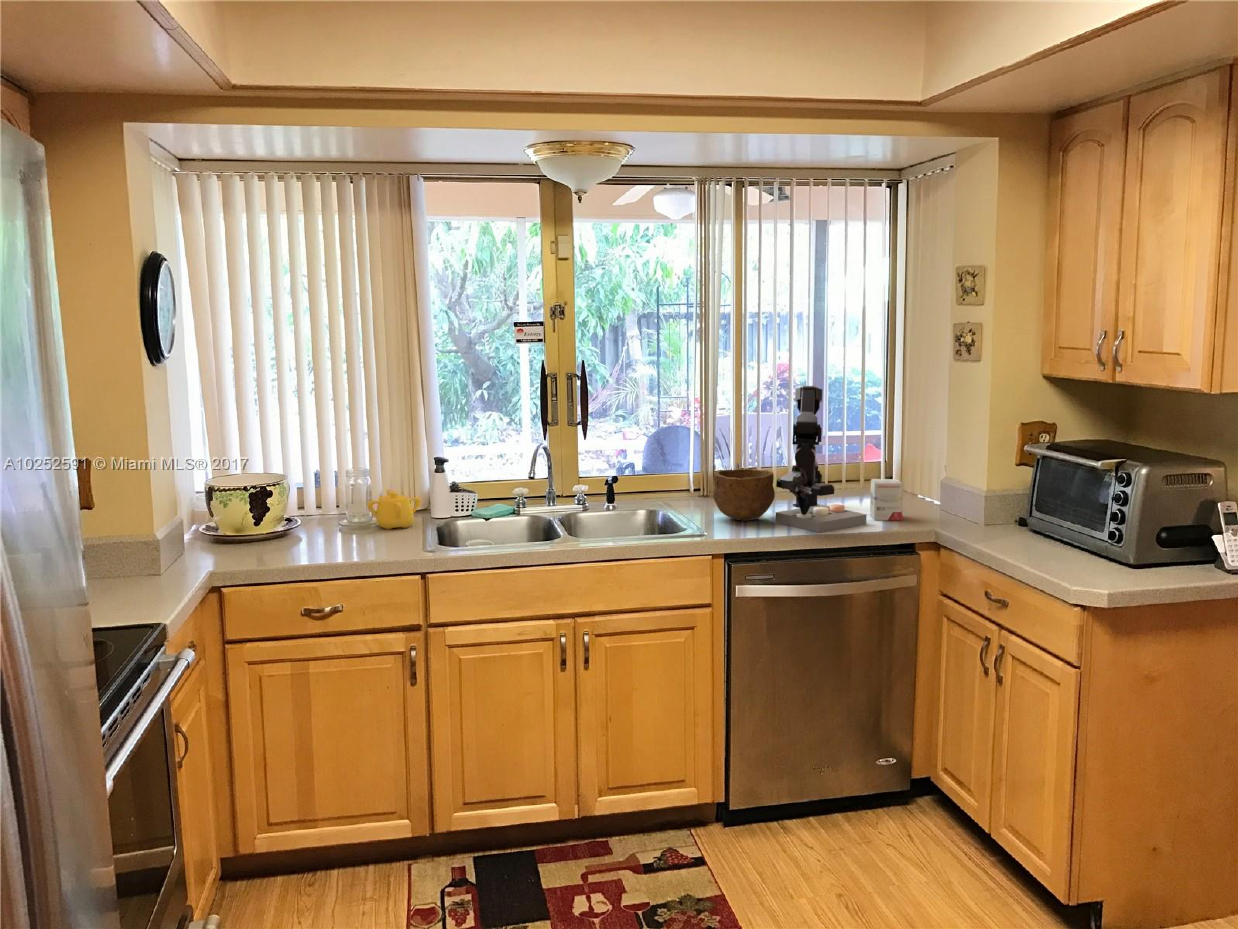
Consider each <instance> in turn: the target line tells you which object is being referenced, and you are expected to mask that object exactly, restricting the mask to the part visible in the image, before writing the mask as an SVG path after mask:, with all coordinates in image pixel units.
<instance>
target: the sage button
mask: <svg viewBox="0 0 1238 929" xmlns="http://www.w3.org/2000/svg"><path fill="white" fill-rule="evenodd" d="M797 517H799V518H803V519H805V518H811V517H812V515H811V514H808V513H807V514H806V515H803V514H802V513H798V514H797Z"/></svg>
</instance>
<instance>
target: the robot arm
mask: <svg viewBox="0 0 1238 929" xmlns="http://www.w3.org/2000/svg"><path fill="white" fill-rule="evenodd" d="M794 392H795V394H794V395H795V396H794V401H795V403H796V402H797V403H796V404H797V405H796V408H797V410H798V412H799V413H800V414H799V415H797V416H795V417H796V418H795V423H793V426H792V445H795V446H796V447H795V455H794V460H795V465H792V467H791V471H790V472H788V473H786V474H784V475H782V476H781V477H778V478H777V479H776V488H781V489H782V490H788V491H789V492H790V494H793V496H795V503H792V506H794V507H798V508H800V510H801V513H802V514H803V515H806V514H807V512H808V510H809V508H810V507H812V506H818V505H819V504H818V497H823V496H829V495H830V496H831V495H835V486H834V485H833V484H831V483H825V482H823V474H822V473H821V470H819V463H818V462H817V460H816V454H817V448H816V446H820V443H822V432H823V431H822V430H823V429H822V427H821V425H820V424H819V423H818V416H816V415H817V413H818V411H819V410H820V407H821V406H820V404H821V403H823V389H822V388H819V387H817V386H815V385H802V386H800V387H797V388H795V391H794Z"/></svg>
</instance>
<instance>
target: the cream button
mask: <svg viewBox="0 0 1238 929" xmlns="http://www.w3.org/2000/svg"><path fill="white" fill-rule="evenodd" d="M813 514H815V515H819V516H823V515H828V508H826V507H814V509H813Z"/></svg>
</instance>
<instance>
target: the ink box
mask: <svg viewBox="0 0 1238 929" xmlns="http://www.w3.org/2000/svg"><path fill="white" fill-rule="evenodd" d="M903 487H904V484H903V482H901V481H900V480H899V479H898V478H896V479H895V478H894V479H893V478H891V479H890V478H871V479H870V499H869V500H870V503H869V505H870V506H869V516H870V518H872V519H873V520H874V521H901V520H903V496H904V495H903V493H904V492H903V491H904V488H903Z"/></svg>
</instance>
